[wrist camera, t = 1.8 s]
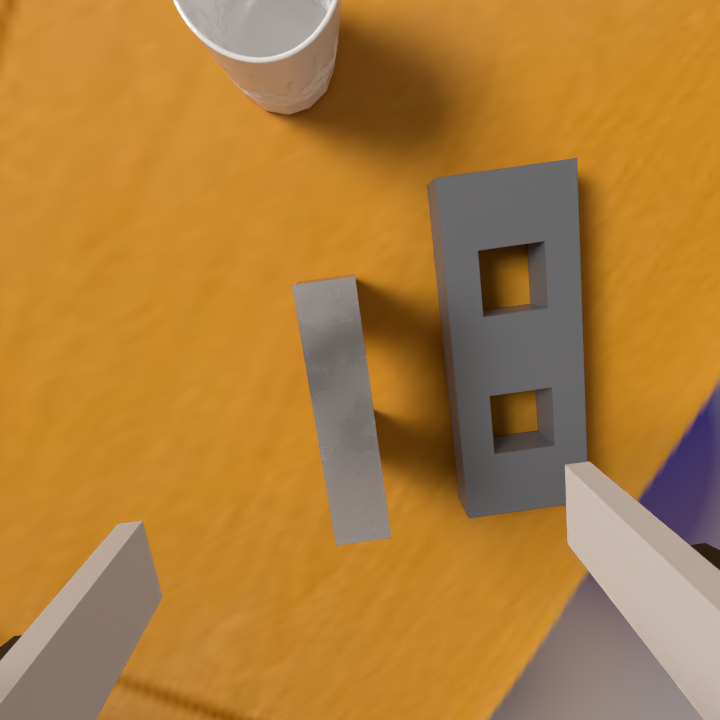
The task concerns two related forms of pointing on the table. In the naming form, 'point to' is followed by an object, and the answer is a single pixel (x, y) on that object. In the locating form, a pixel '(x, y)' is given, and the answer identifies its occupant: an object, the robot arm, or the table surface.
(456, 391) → the grey slotted base plate
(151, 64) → the table surface
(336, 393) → the light gray u-shaped block
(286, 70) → the white cup
